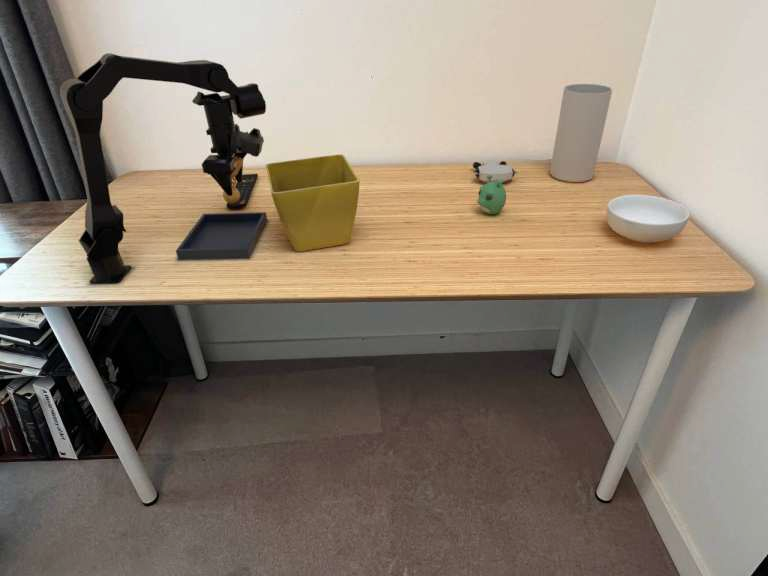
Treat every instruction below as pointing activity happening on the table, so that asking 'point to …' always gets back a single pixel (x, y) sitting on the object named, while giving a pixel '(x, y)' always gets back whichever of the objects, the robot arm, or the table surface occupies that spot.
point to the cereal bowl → (646, 218)
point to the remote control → (243, 191)
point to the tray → (223, 236)
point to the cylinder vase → (579, 131)
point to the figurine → (234, 182)
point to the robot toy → (493, 170)
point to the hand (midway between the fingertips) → (235, 188)
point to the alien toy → (492, 196)
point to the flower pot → (315, 200)
